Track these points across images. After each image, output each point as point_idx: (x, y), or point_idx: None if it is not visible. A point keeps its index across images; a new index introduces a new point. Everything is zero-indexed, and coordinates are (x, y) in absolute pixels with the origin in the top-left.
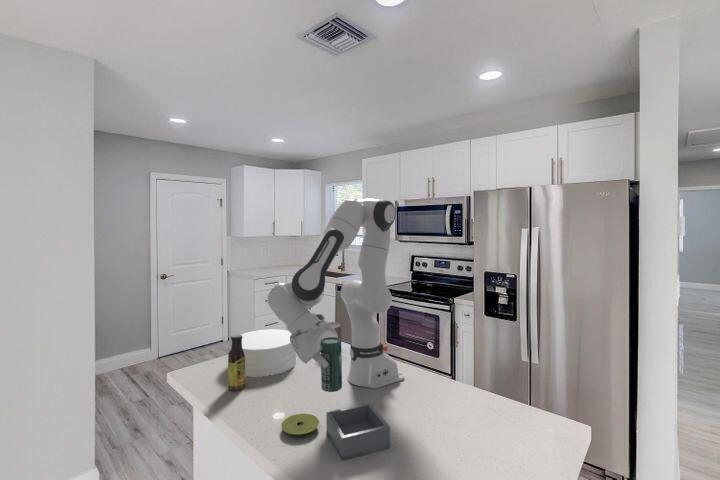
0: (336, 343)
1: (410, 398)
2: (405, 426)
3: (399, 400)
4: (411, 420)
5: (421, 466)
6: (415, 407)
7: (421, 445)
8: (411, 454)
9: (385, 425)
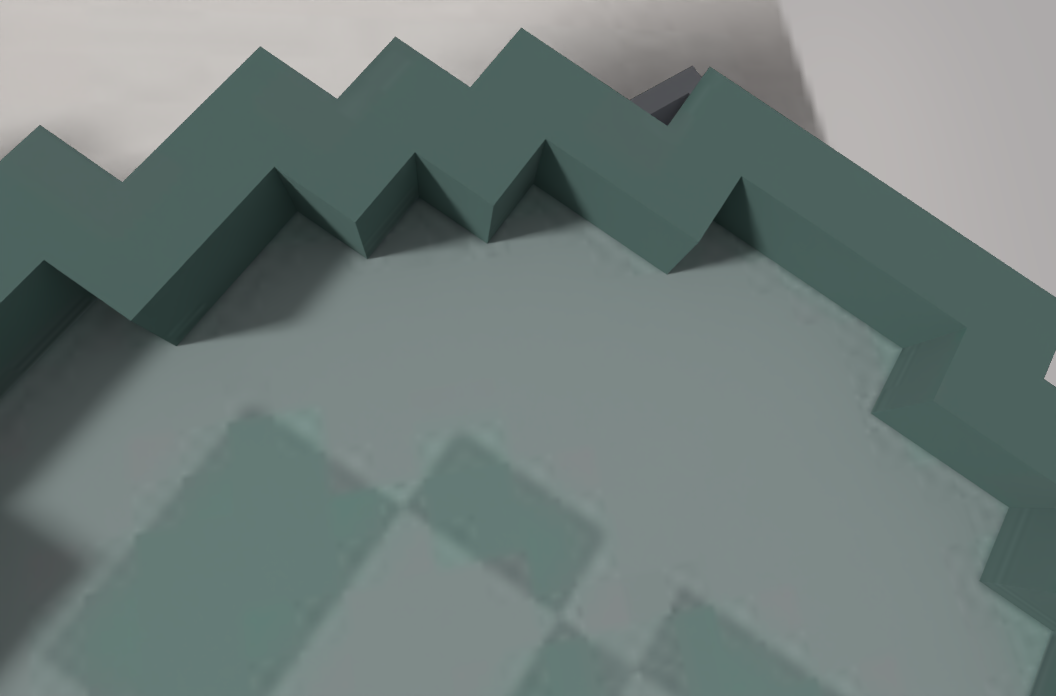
0: (915, 241)
1: (69, 37)
2: None
3: (105, 106)
4: (366, 40)
5: (741, 13)
6: (201, 12)
7: (592, 4)
8: (672, 49)
9: (686, 90)
